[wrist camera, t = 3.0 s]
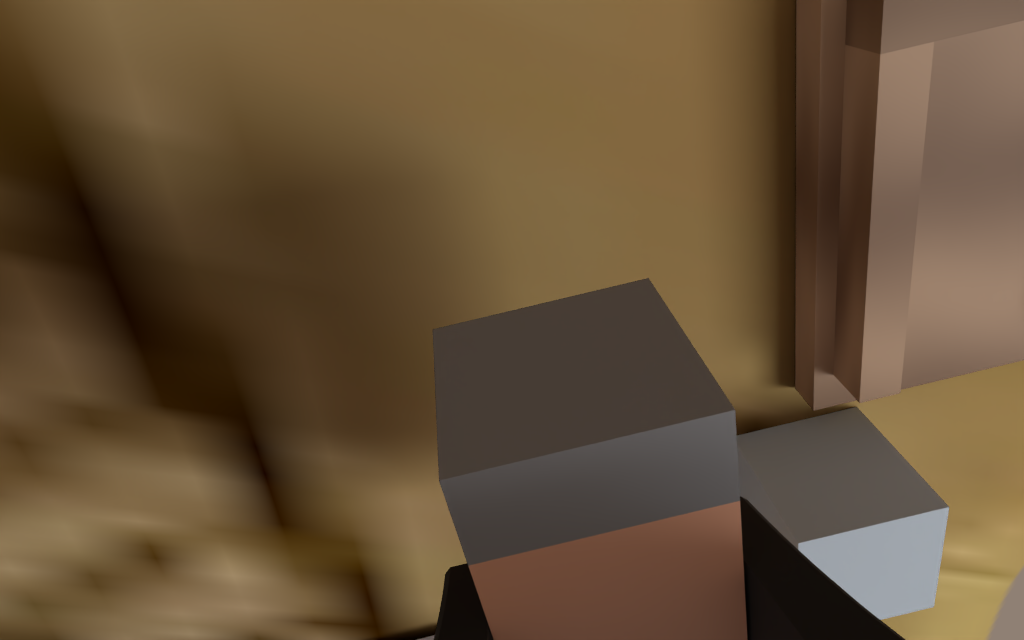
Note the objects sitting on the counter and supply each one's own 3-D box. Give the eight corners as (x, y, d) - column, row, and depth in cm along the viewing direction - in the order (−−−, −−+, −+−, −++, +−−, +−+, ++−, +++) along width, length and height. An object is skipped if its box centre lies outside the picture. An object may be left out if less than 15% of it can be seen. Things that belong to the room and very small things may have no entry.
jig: (1081, 320, 19) (1154, 363, 17) (795, 388, 19) (837, 439, 17) (1181, -100, 14) (1301, -104, 12) (796, -9, 14) (855, 1, 12)
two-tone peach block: (686, 597, 15) (754, 767, 12) (526, 635, 15) (553, 815, 12) (648, 278, 12) (735, 410, 8) (432, 329, 12) (439, 480, 8)
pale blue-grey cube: (850, 497, 22) (933, 607, 18) (736, 525, 22) (797, 639, 18) (855, 405, 20) (949, 506, 16) (731, 435, 20) (798, 543, 16)
